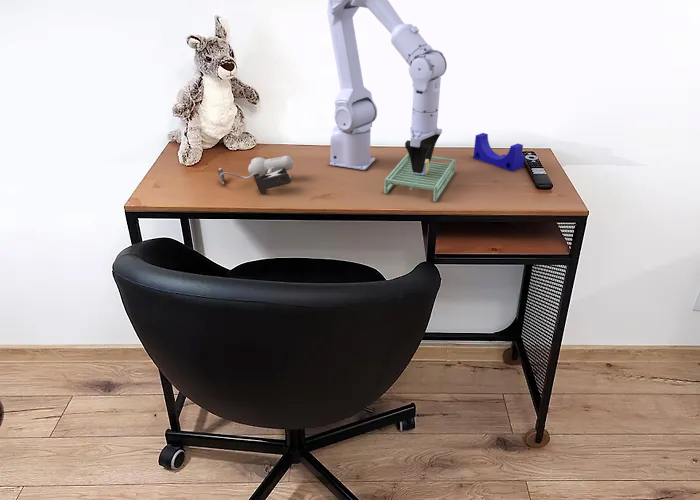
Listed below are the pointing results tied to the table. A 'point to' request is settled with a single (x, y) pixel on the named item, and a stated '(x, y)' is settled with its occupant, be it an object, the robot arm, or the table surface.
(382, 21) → the robot arm
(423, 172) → the alphabet block
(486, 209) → the table surface
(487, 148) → the blue cradle bracket
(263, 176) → the clip-on lamp
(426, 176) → the rack
